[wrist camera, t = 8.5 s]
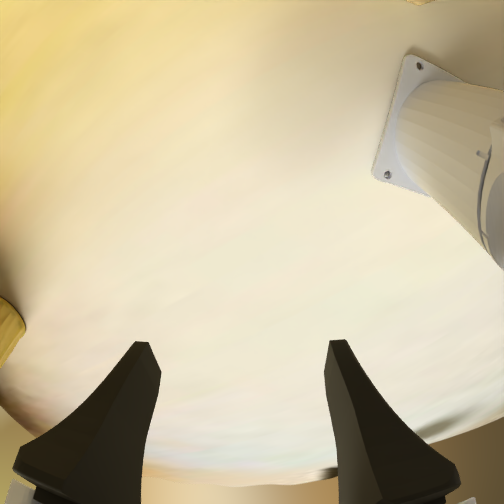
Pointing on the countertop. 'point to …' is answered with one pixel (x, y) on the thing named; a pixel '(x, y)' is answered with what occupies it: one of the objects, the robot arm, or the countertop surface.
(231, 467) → the countertop surface
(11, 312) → the vase
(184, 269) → the countertop surface
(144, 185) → the countertop surface
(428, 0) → the beech block
